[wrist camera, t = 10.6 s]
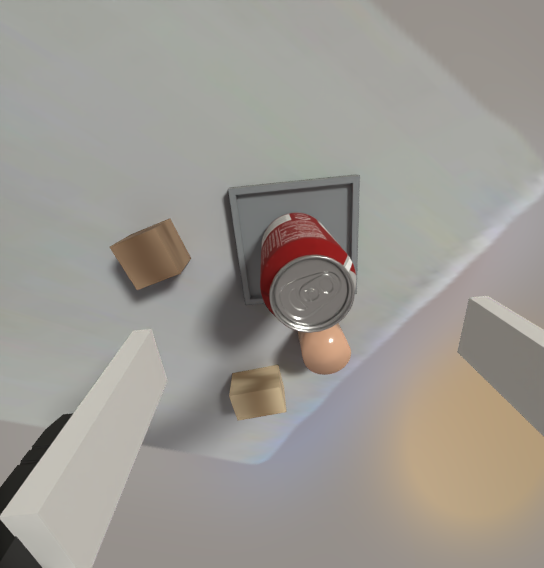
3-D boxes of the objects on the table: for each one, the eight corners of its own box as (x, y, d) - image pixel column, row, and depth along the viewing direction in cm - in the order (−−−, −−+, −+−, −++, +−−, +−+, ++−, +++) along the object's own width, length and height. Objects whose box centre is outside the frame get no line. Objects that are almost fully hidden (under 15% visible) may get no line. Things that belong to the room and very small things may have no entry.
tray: (245, 300, 32) (245, 305, 31) (229, 187, 28) (228, 188, 26) (353, 289, 32) (356, 294, 31) (355, 174, 27) (359, 175, 26)
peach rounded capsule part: (298, 348, 35) (304, 376, 31) (296, 313, 33) (301, 337, 29) (339, 344, 35) (350, 372, 31) (338, 309, 33) (351, 333, 29)
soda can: (248, 233, 29) (239, 281, 18) (307, 197, 27) (336, 224, 17) (282, 285, 31) (292, 355, 20) (338, 254, 30) (381, 311, 19)
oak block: (240, 395, 38) (237, 420, 35) (232, 372, 37) (229, 396, 33) (284, 387, 38) (286, 412, 34) (278, 364, 36) (279, 387, 33)
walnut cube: (153, 272, 31) (137, 290, 27) (130, 234, 29) (109, 246, 25) (191, 258, 30) (180, 273, 26) (170, 218, 29) (155, 228, 25)
